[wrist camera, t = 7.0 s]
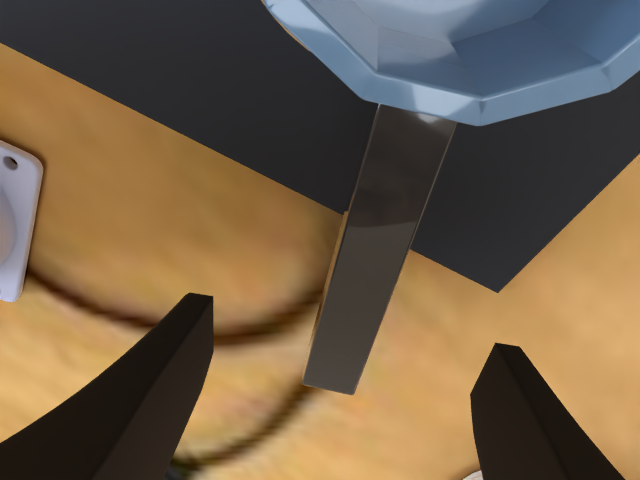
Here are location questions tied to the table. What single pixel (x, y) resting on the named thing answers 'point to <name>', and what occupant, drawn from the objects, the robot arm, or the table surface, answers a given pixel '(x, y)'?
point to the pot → (434, 121)
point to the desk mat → (331, 120)
